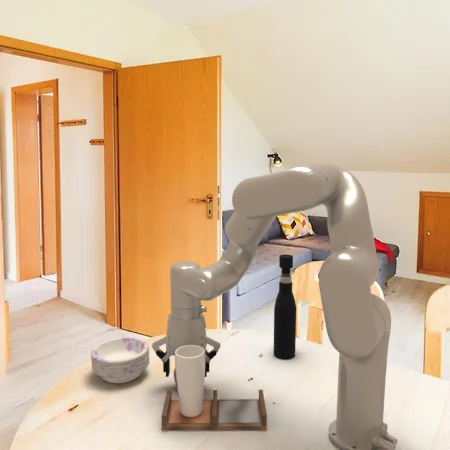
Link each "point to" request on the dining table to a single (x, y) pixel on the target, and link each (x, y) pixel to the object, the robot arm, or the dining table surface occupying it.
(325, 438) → the dining table surface
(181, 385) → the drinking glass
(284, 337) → the wine bottle
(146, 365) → the paper bowls
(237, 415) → the slot rack
